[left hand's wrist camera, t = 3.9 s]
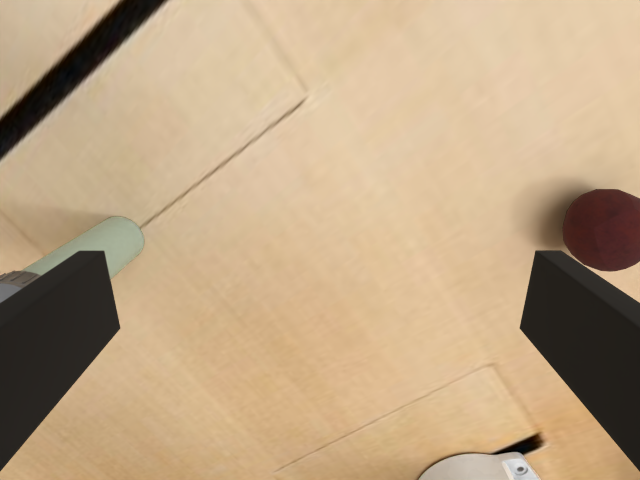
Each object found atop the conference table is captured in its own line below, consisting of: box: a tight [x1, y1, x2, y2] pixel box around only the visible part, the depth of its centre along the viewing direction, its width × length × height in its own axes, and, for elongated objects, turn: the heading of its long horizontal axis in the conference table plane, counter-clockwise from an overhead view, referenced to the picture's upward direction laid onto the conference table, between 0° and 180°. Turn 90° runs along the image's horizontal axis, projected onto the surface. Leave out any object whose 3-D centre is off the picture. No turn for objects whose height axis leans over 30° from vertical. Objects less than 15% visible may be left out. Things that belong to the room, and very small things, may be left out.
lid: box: [0, 271, 41, 303], centre depth 28 cm, size 6×6×2 cm
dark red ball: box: [563, 189, 640, 271], centre depth 37 cm, size 7×8×7 cm
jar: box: [21, 217, 144, 280], centre depth 34 cm, size 5×5×15 cm
